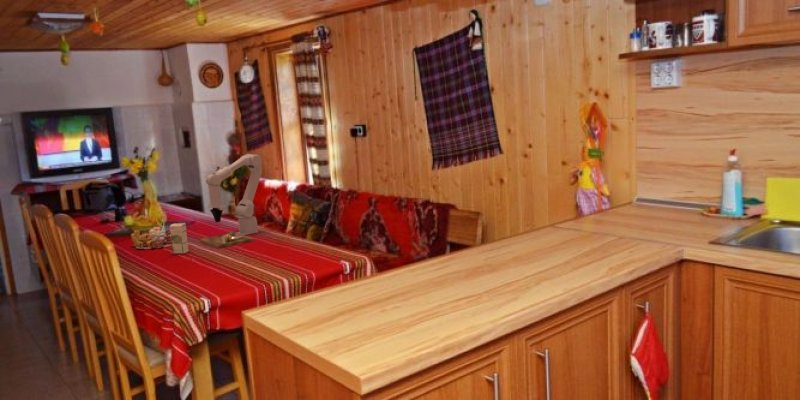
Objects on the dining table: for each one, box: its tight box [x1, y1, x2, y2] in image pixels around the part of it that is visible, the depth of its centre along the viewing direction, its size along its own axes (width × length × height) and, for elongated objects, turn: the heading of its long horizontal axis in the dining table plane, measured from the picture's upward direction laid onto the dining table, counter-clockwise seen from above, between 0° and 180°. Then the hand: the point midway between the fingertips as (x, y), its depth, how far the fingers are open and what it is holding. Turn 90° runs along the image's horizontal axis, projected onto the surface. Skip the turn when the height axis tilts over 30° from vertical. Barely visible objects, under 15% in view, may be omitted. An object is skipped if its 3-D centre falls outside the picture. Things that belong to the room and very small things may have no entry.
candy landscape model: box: [130, 226, 172, 250], centre depth 328 cm, size 25×24×9 cm
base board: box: [199, 231, 255, 249], centre depth 327 cm, size 20×22×2 cm
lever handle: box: [221, 231, 243, 244], centre depth 323 cm, size 18×11×3 cm, turn 176°
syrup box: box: [169, 222, 189, 255], centre depth 307 cm, size 6×6×14 cm
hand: (217, 222), depth 332 cm, fingers closed
